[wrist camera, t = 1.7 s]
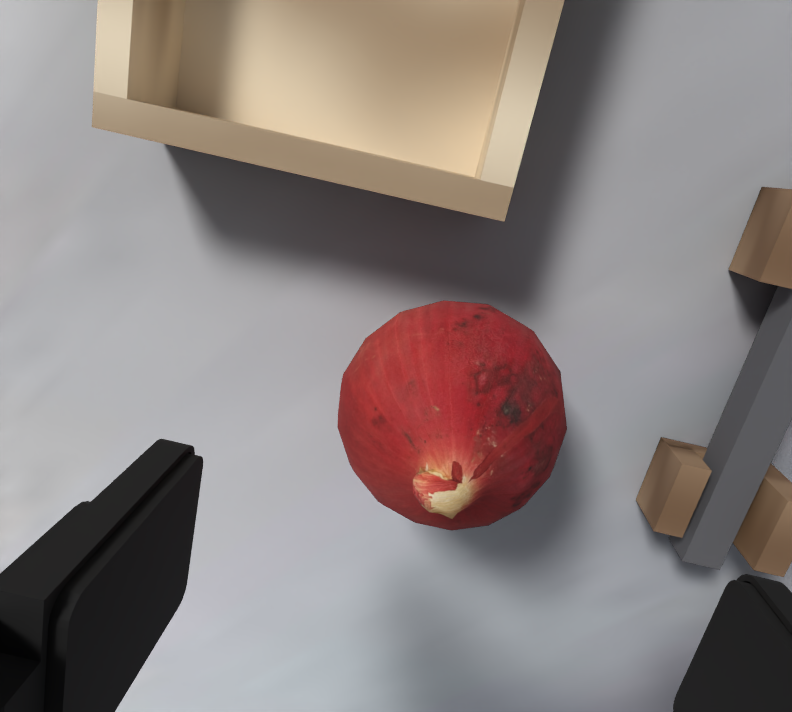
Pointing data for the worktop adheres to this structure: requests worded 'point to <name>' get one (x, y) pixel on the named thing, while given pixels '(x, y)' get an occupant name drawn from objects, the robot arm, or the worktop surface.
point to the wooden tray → (335, 88)
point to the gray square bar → (744, 439)
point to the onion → (452, 414)
